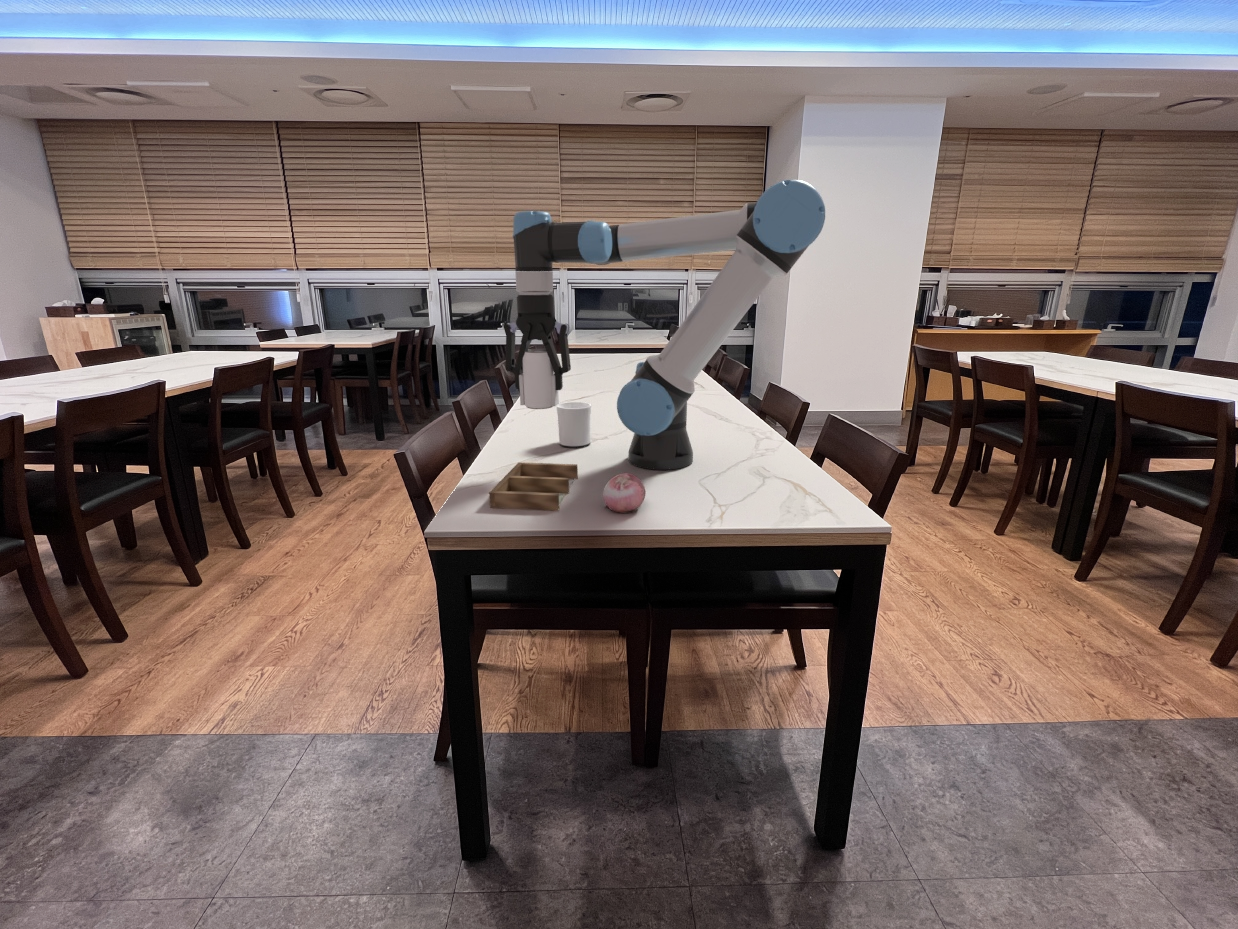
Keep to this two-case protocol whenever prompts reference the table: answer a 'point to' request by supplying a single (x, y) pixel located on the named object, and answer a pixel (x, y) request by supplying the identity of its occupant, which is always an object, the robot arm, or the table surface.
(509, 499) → the comb rack
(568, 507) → the table surface
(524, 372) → the can
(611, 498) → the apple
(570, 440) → the mug
